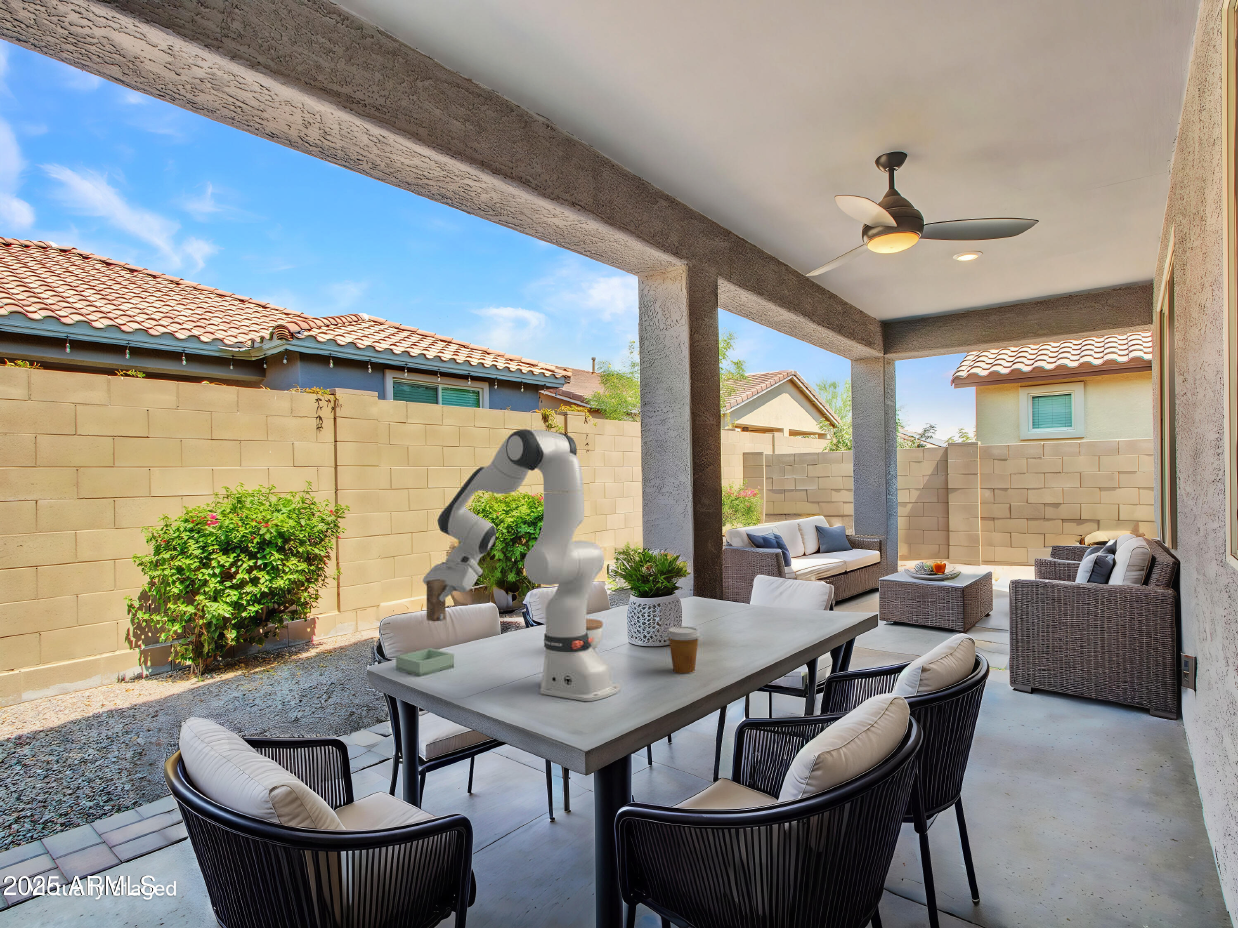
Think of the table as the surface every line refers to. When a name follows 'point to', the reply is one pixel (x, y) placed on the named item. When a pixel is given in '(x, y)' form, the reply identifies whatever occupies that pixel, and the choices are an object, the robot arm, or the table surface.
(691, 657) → the disposable coffee cup
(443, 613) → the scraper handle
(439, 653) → the tray
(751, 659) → the table surface
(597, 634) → the lidded bowl
